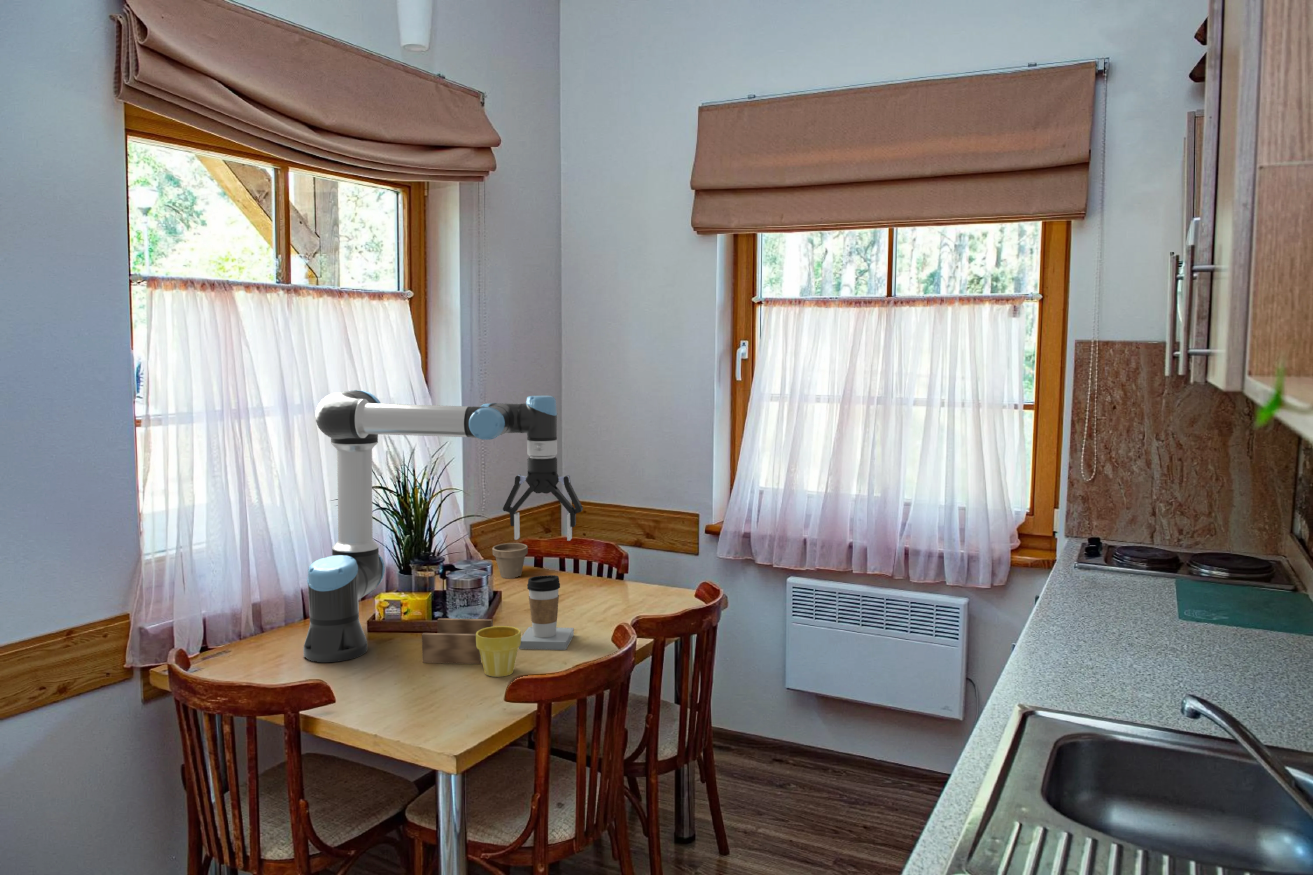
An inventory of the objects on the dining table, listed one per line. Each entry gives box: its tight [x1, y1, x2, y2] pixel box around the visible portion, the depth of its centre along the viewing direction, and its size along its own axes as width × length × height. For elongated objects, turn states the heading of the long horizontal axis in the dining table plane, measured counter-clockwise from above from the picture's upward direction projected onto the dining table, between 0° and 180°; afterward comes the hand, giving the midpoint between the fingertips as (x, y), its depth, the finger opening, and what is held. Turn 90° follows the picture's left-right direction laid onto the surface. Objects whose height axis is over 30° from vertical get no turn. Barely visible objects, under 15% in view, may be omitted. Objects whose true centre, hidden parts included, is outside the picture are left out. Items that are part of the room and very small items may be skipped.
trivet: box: [518, 626, 575, 651], centre depth 246 cm, size 12×12×2 cm
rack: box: [421, 617, 494, 665], centre depth 237 cm, size 14×13×7 cm
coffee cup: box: [527, 574, 561, 638], centre depth 245 cm, size 8×8×15 cm
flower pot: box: [492, 542, 529, 579], centre depth 314 cm, size 12×11×10 cm
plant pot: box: [476, 625, 522, 678], centre depth 223 cm, size 10×10×10 cm
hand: (543, 539), depth 244 cm, fingers open, 13 cm apart
